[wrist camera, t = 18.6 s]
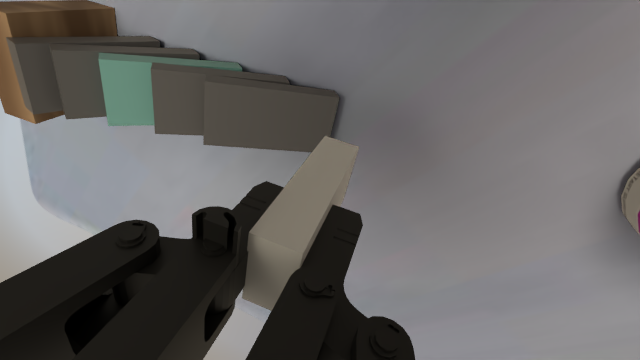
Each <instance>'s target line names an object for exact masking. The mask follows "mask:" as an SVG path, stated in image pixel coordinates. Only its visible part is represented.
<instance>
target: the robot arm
mask: <svg viewBox="0 0 640 360" xmlns="http://www.w3.org/2000/svg"><path fill="white" fill-rule="evenodd" d="M358 149H359V147H358V146H355V145H352V144H349V143H346V142H343V141H339V140H336V139H333V138H330V137H327V136H324V138H323V139H322V140H321V142H320V143H319V144H318V145H317V147H316V148H315V149H314V150H313V152H312V153H311V154H310V155H309V157H308V158H307V159H306V161H305V162H304V163H303V164H302V166H301V167H300V168H299V169H298V171H297V172H296V173H295V175H294V176H293V177H292V178H291V180H290V181H289V182H288V183H287V185H286V186H285V187H284V188H283V187H281V186H278V185H275V184H272V183H270V182H267V181H266V182H263V183H261V184H259V185H257V186H254V187H253V188H252V190H251V191H250V192H249V193H248V194H247V195H246V197H244V198H243V199H242V200H241V201H240V203H239V204H237V206H236V207H235V208H234V209H233V210H230V209H228V208H224V207H206V208H203V209H199V210H198V211H196V212H195V213H193V214H192V233H193V237H192V238H191V239H178V238H169V237H160V236H159V230H158V229H157V227H156V226H155V225H154V224H152V223H150V222H147V221H142V220H131V221H125V222H122V223H119V224H117V225H114V226H112V227H110V228H108V229H106V230H104V231H102V232H100V233H98V234H96V235H94V236H93V237H90V238H89V239H87V240H85V241H83V242H81V243H79V244H77V245H75V246H73V247H71V248H69V249H67V250H65V251H63V252H61V253H59V254H57V255H55V256H53V257H51V258H49V259H47V260H45V261H43V262H41V263H39V264H37V265H35V266H33V267H31V268H29V269H27V270H25V271H23V272H21V273H19V274H17V275H15V276H13V277H11V278H9V279H7V280H5V281H3V282H1V283H0V360H203V358H204V357H205V355H206V354H207V352H208V351H209V349H210V347H211V346H212V344H213V343H214V341H215V340H216V338H217V337H218V335H219V333H220V332H221V330H222V329H223V327H224V325H225V324H226V323H227V321H228V319H229V318H230V316H231V315H232V312H233V310H234V307H235V299H236V298H237V296H238V295H239V293H240V292H241V290H242V289H243V295H242V298H243V299H245V300H248V301H250V302H252V303H255V304H257V305H259V306H262V307H264V308H266V309H269V310H271V313H270V315H269V317H268V319H267V321H266V323H265V324H264V326H263V329H262V330H261V332H260V334H259V336H258V337H257V340H256V341H255V343H254V345H253V347H252V349H251V351H250V352H249V354H248V356H247V358H246V360H415V355H414V349H413V346H412V343H411V340H410V337H409V336H408V334H407V333H406V332H405V330H404V329H403V327H401V326H400V325H399V324H397V323H396V322H395V321H393V320H391V319H388V318H385V317H378V316H373V317H370V318H367V317H366V316H364V315H363V314H362V313H361V312H359V311H358V310H357V309H356V308H355V307H354V306H353V305H352V304H351V303H350V302H349V300H348V299H347V297H346V294H345V292H344V285H343V284H344V279H345V276H346V273H347V270H348V267H349V264H350V261H351V258H352V255H353V252H354V249H355V247H356V244H357V241H358V238H359V235H360V232H361V229H362V226H363V224H362V220H361V216H360V214H358V213H355V212H353V211H350V210H347V209H344V208H342V207H340V206H341V204H342V202H343V200H344V197H345V193H346V190H347V187H348V183H349V180H350V176H351V173H352V170H353V166H354V163H355V160H356V156H357V153H358Z"/></svg>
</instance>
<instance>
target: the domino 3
mask: <svg viewBox="0 0 640 360" xmlns="http://www.w3.org/2000/svg"><path fill="white" fill-rule="evenodd" d="M98 60H99V67H100V73H101V80H102V87H103V93H104V100H105V107H106V113H107V120H108V126H130V125H155V124H154V110H153V96H152V82H151V66H152V62H155V63H165V64H174V65H184V66H193V67H203V68H212V69H222V70H231V71H241V72H242V68H241V66H240V65H239V64H238V63H234V62H220V61H207V60H193V59H180V58H166V57H153V56H139V55H125V54H112V53H99V58H98Z"/></svg>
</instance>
